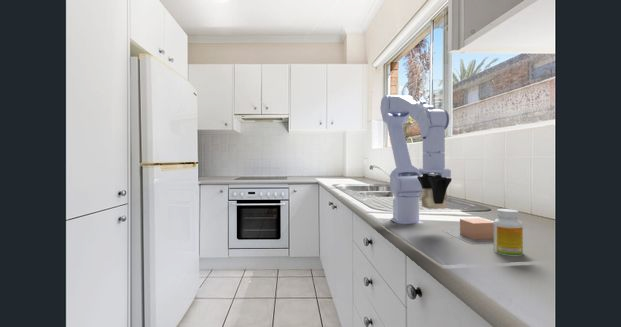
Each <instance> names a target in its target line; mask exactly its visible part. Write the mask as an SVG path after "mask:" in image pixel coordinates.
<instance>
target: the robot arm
mask: <svg viewBox="0 0 621 327" xmlns="http://www.w3.org/2000/svg"><path fill="white" fill-rule="evenodd" d="M379 108H380V113H381V117H382V121H383V123H385V124H386V125H387V126H386V127H387V131H388V136H389V140H390V144H391V150H392V154H393V155H392V156H393V159H394V162H395V163H394V164H395V168H394V169H393V170H392V171H391V173H390V174H389V181H390V182H389V188H390V191H391V192H392V194H393V195H394V198H393V200H392V217H391V218H390V221H392V222H394V223H395V224H396V223H398V224H401V225H406V224H407V225H408V224H409V225H410V224H411V225H412V224H424V223H425V222H423V221H421V220H420V197H422V189H431V188H432V191H433V200H434V203H435V204H443V201H444V197H445V193H446V190H447V189H448V187H449V185H450V184H451V182H452V178H451V177H452V171H451V169H450V168H445V167H446V164H445V163H446V161H445V160H446V153H445V151H446V144H445V143H446V141H445V139H446V138H445V137H446V136H445V135H446V133H445V132H446V131H445V130H446V129H447V128H448V127H449V124H450V114H449V112H448V111H447V110H446V109H445V108H440V109H436V108H435V107H434V105H430V104H427V101H426V100H420V101H416V100H414V98H413V96H412V95H409V94H408V95H389V94H385V95H384V96H383V97H382V98H381V101H380V107H379ZM409 118H411V119H412V120H413V121H415V122H416V123H417V124H418V125H417V126H418V128H419V131H420V137H422V167H421V168H417V167H415V166H414V165H413V164H412V162H411V156H410V152H409V148H408V144H407V140H406V136H405V131H404V128H403V124H405V123H407V122H408V120H409Z"/></svg>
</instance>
